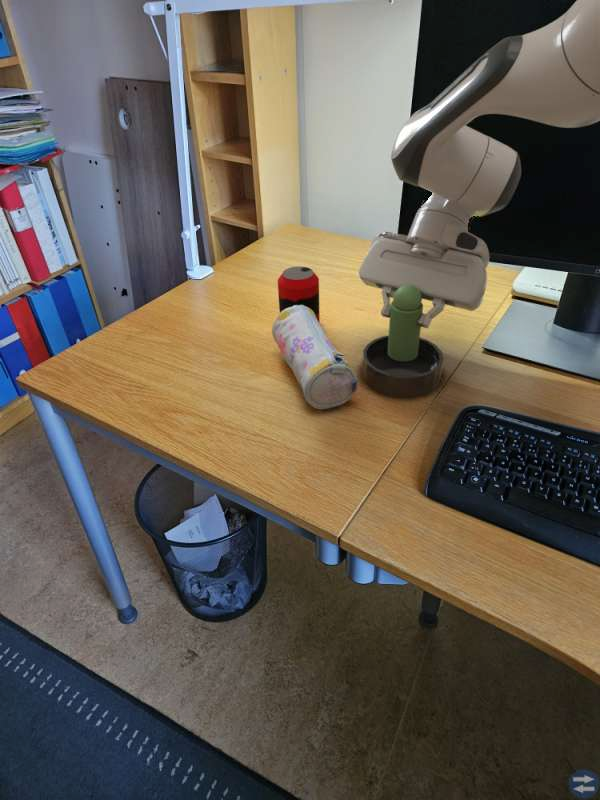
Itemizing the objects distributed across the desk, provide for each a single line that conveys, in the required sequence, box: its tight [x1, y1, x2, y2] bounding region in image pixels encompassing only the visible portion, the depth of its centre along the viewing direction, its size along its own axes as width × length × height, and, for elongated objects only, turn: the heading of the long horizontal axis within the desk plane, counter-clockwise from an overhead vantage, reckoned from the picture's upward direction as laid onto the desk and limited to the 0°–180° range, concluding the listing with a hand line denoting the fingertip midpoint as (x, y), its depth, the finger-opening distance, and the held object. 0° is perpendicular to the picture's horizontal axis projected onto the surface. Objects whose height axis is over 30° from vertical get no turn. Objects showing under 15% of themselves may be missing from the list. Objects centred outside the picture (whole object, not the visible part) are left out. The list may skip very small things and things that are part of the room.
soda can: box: [277, 266, 321, 324], centre depth 105 cm, size 8×8×12 cm
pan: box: [361, 334, 445, 399], centre depth 94 cm, size 13×13×4 cm
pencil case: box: [271, 305, 358, 410], centre depth 93 cm, size 21×9×10 cm, turn 18°
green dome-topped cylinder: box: [387, 285, 424, 361], centre depth 89 cm, size 5×5×12 cm
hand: (404, 321), depth 89 cm, fingers closed on green dome-topped cylinder, 5 cm apart
